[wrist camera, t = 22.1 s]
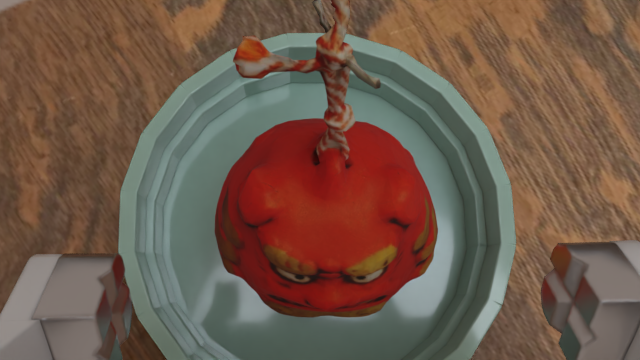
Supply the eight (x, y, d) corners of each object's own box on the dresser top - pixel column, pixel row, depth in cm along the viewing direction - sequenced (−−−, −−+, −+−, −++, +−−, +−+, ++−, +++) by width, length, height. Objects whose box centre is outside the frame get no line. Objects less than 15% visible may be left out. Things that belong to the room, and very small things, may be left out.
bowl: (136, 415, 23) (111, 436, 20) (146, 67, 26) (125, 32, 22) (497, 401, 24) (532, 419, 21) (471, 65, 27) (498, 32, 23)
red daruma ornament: (232, 325, 24) (142, 379, 9) (221, 152, 25) (127, -54, 10) (421, 307, 24) (635, 329, 9) (402, 138, 25) (562, -75, 11)
